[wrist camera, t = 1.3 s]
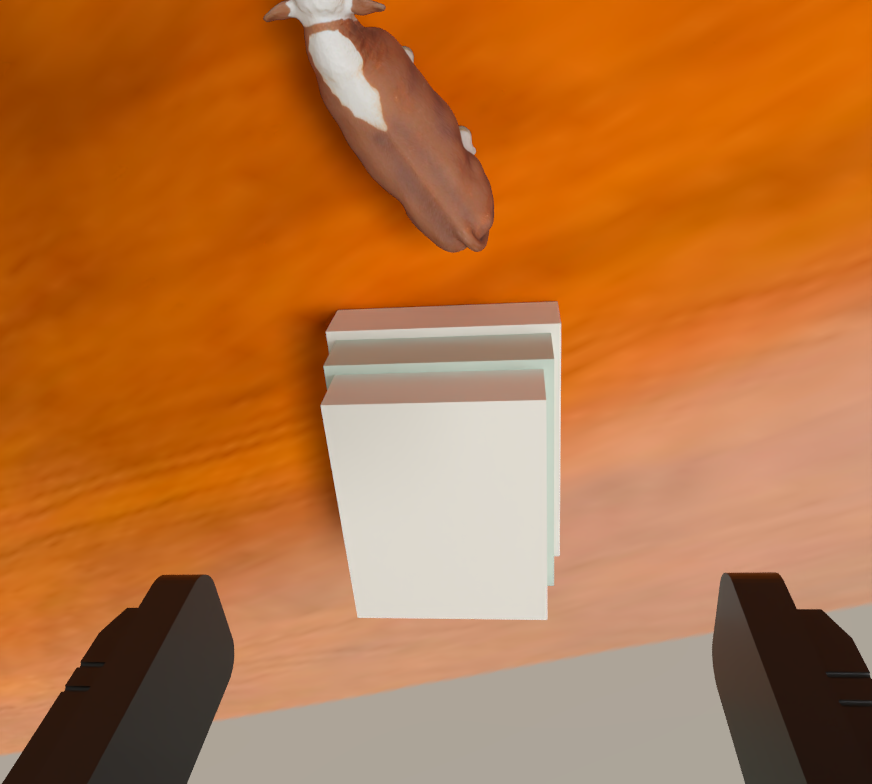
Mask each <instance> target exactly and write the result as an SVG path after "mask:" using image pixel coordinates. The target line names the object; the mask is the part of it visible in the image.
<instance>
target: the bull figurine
mask: <svg viewBox="0 0 872 784" xmlns="http://www.w3.org/2000/svg"><path fill="white" fill-rule="evenodd" d="M384 10H385V5H383V4H380V3H378V2H375V1H371V0H286V1H282V2H280V3H278V4H277V5H276V6H275V7H273V8H272V9H271V10H270V11H269V12H268V13H267V14H266V15H265V16H264V20H265V21H266V22H270V21H274V20H285V19H288V18H293V17H295V18H297V19H299V20H300V22H301V23H302V24H303V27H304V37H305V43H306V52H307V55H308V59H309V61H310V64H311V66H312V68H313V70H314V71H315V73H316V77H317V81H318V85H319V89H320V94H321V97H322V99H323V102H324V104H325V105H326V107H327V109H328V110H329V112H330V113H331V115H332V116H333V118H334V119H335V121H336V122H337V123H338V125H339V127H340V129H341V131H342V133H343V135H344V137H345V139H346V141H347V142H348V144H349V146H350V147H351V148H352V150H353V151H354V153H355V154H356V155H357V157H358V158H359V160H360V161H361V162H362V164H363V165H364V167H365V169H366V170H367V172H368V173H369V174H370V175H371V177H372V178H373V179H374V180H375V181H376V182H377V183H378V184H379V185H380V186H382V187H383V188H384V189H385V190H386V191H387V192H388V193H390V194H391V195H392V196H394V197H395V198H396V199H398V200H399V201H400V202H401V203H402V205H403V206H404V208H405V211H406V214H407V216H408V217H409V219H410V220H411V221H412V223H413V224H414V225H415V226H416V227H417V228H418V229H419V230H420V231H421V232H422V233H423V234H424V235H426V236H427V237H428V238H429V239H430V240H431V241H432V242H434V243H435V244H436V245H437V246H438V247H440V248H442V249H443V250H445V251H448V252H458V251H461V250H464V249H465V248H466V247H468V248H469V249H471V250H473V251H475V252H479V251H481V250H483V249H484V248H485V246H486V244H487V241H488V235H489V229H490V228H491V226H492V224H493V219H494V201H493V195H492V190H491V186H490V183H489V180H488V178H487V176H486V175H485V173H484V170H483V168H482V165H481V163H480V162H479V160H478V159H477V158H476V157H475V156H474V154H475V153H476V149H475V148H474V147H473V145H472V139H471V132H470V131H469V129H467V128H466V127H464V126H459V125H458V123H457V120H456V118H455V116H454V114H453V112H452V110H451V109H450V107H449V106H448V105H447V103H446V102H445V101H444V100H443V99H442V98H441V97H440V96H439V95H438V94H437V93H436V92H435V91H434V90H433V89H432V88H431V86H430V85H429V84H428V82H427V81H426V79H425V78H424V77H423V75H422V74H421V73H420V71H419V70H418V69H417V68H416V66H415V65H414V64H413V62H414V55H413V52H412V51H411V49H410V48H408V47H405V46H401V45H400V44H399V42H398V41H397V40H396V39H395V38H394V37H393V36H392V35H391V34H390V33H388V32H387V31H385V30H383V29H381V28H377V27H366V28H365V27H363V26H362V25H361V24H360V23H359V21H358V20H357V19H356V18H355V16H354V14H357V15H367V14H370V13H374V12H381V11H384Z"/></svg>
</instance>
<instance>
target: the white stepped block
mask: <svg viewBox="0 0 872 784" xmlns="http://www.w3.org/2000/svg"><path fill="white" fill-rule="evenodd" d="M326 337H327V344H328V350H329V356H328V358H327V360H326V361H325V363H324V365H323V368H324V374H325V380H326V386H327V392H326V395H325V397H324V399H323V401H322V403H321V405H320V406H321V411H322V417H323V423H324V428H325V434H326V440H327V445H328V451H329V457H330V463H331V468H332V474H333V480H334V485H335V491H336V497H337V502H338V508H339V514H340V519H341V525H342V531H343V536H344V542H345V548H346V553H347V559H348V565H349V571H350V576H351V582H352V588H353V593H354V599H355V605H356V610H357V616H358V618H433V619H518V620H547V586H554V556H560V423H561V320H560V313H559V307H558V301H554V302H529V303H503V304H478V305H453V306H427V307H402V308H376V309H351V310H338V311H337V312H336V314H335V316H334V318H333V319H332V321H331V323H330V325H329V327H328V328H327V330H326Z"/></svg>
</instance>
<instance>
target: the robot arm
mask: <svg viewBox="0 0 872 784" xmlns="http://www.w3.org/2000/svg"><path fill="white" fill-rule="evenodd" d="M712 657H713V668H714V674H715V680H716V685H717V689H718V692H719V696H720V699H721V702H722V706H723V709H724V713H725V716H726V720H727V723H728V726H729V730H730V733H731V736H732V740H733V743H734V747H735V750H736V754H737V757H738V760H739V764H740V767H741V771H742V774H743V777H744V781H745V784H872V679H871V678H870V672H869V670H868V668H867V666H866V664H865V663H864V661H863V658H862V657H861V655H860V653H859V651H858V649H857V647H856V645H855V643H854V641H853V639H852V638H851V637H850V636H849V635H848V634H847V633H846V632H845V631H844V630H842V628H841V627H839V626H838V625H837V624H836V623H835V622H834V621H833V620H832V619H831V618H830V617H829V616H828V615H827V614H826V613H825V612H824V611H822V610H821V609H796V606H795V604H794V602H793V600H792V598H791V596H790V593H789V591H788V589H787V587H786V585H785V583H784V581H783V579H782V577H781V576H780V575H779V574H778V573H724V574H723V575H722V577H721V581H720V588H719V596H718V604H717V612H716V619H715V627H714V635H713V644H712ZM233 663H234V643H233V638H232V635H231V632H230V629H229V626H228V623H227V620H226V617H225V614H224V611H223V608H222V605H221V602H220V599H219V596H218V593H217V590H216V587H215V584H214V582H213V580H212V578H211V577H210V576H208V575H162V576H160V577H158V578H157V579H156V580H155V582H154V583H153V584H152V586H151V588H150V589H149V591H148V593H147V594H146V596H145V598H144V599H143V601H142V603H141V604H140V606H139V608H127V609H125V610H124V611H123V612H122V613H121V614H120V615H119V616H118V617H116V618H115V619H114V620H113V621H112V622H111V623H110V624H109V625H107V626H106V627H105V628H104V629H103V630H102V631H101V632H100V633H99V634H98V636H97V637H96V639H95V640H94V642H93V643H92V645H91V646H90V648H89V650H88V651H87V653H86V654H85V656H84V657H83V659H82V660H81V666H80V668H76V670H75V671H74V673H73V674H72V676H71V677H70V679H69V681H68V682H67V684H66V685H65V687H66V688H65V691H64V692H61V693H60V695H59V696H58V698H57V699H56V701H55V702H54V704H53V705H52V707H51V708H50V710H49V712H48V713H47V715H46V716H45V718H44V719H43V721H42V722H41V724H40V726H39V727H38V729H37V730H36V732H35V733H34V735H33V736H32V738H31V740H30V741H29V743H28V744H27V746H26V747H25V749H24V750H23V752H22V754H21V755H20V757H19V758H18V760H17V761H16V763H15V764H14V766H13V767H12V769H11V771H10V772H9V774H8V775H7V777H6V779H5V780H4V781H3V783H2V784H187V782H188V779H189V777H190V775H191V772H192V770H193V767H194V765H195V762H196V760H197V758H198V755H199V753H200V750H201V748H202V745H203V743H204V741H205V738H206V736H207V733H208V731H209V728H210V726H211V724H212V721H213V719H214V716H215V714H216V711H217V709H218V707H219V704H220V702H221V699H222V697H223V694H224V692H225V690H226V687H227V685H228V682H229V680H230V677H231V673H232V669H233Z"/></svg>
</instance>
